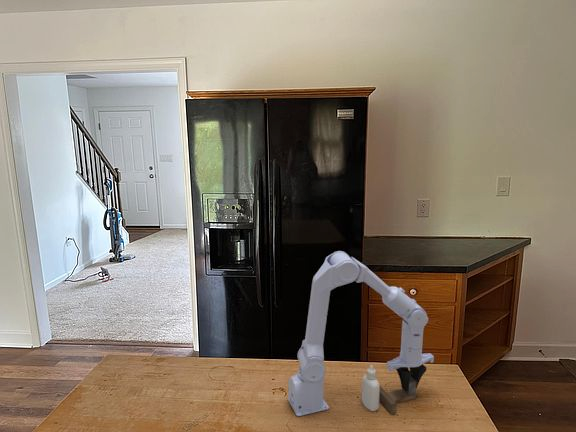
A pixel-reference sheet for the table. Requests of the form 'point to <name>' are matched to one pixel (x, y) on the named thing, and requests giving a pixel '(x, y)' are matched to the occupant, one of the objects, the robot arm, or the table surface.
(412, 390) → the grey hook bracket
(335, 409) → the table surface
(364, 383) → the eye dropper bottle
